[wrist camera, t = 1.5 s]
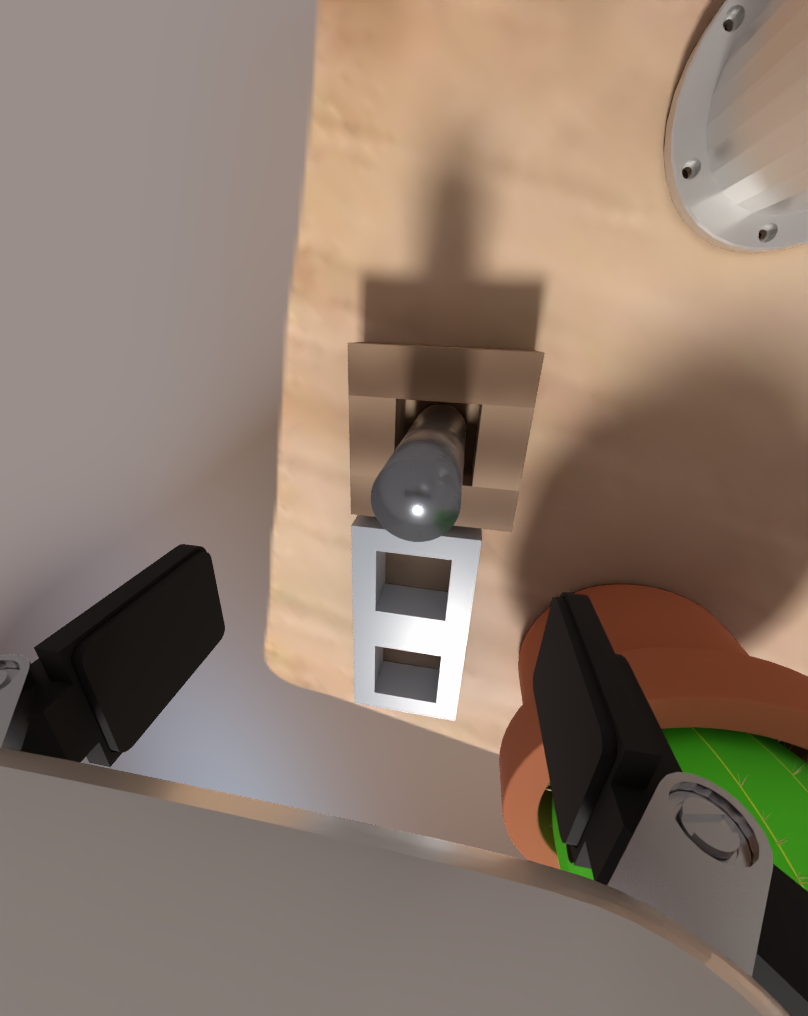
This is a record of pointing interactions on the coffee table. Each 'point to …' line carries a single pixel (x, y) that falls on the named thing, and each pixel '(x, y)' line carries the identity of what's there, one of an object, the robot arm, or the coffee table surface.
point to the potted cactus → (678, 723)
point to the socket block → (445, 378)
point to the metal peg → (423, 477)
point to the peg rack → (411, 620)
